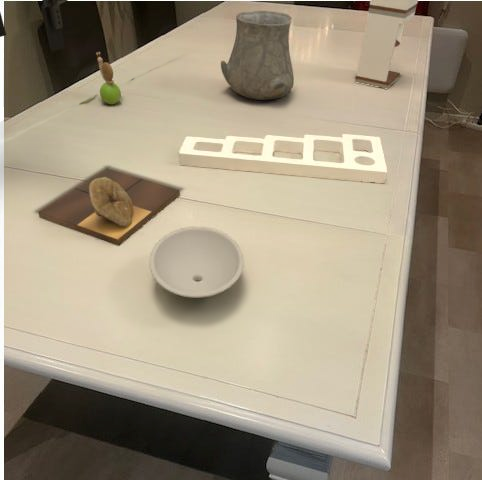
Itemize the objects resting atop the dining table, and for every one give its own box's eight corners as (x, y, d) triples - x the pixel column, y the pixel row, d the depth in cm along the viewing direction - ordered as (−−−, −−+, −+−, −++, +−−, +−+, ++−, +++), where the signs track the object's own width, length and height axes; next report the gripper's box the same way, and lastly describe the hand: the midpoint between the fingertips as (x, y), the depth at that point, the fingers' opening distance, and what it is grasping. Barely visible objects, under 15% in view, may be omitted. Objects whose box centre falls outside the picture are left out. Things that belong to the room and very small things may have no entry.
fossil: (91, 206, 79) (92, 166, 85) (76, 221, 81) (79, 181, 87) (136, 229, 85) (134, 191, 91) (121, 243, 87) (121, 204, 93)
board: (39, 217, 89) (37, 211, 88) (107, 173, 102) (106, 167, 101) (118, 245, 84) (117, 239, 83) (180, 195, 97) (179, 189, 96)
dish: (155, 250, 83) (153, 226, 79) (238, 249, 84) (239, 225, 81) (148, 322, 70) (145, 297, 67) (246, 320, 71) (248, 295, 68)
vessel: (242, 113, 129) (245, 29, 115) (211, 86, 144) (211, 9, 130) (312, 104, 136) (323, 24, 122) (276, 79, 151) (282, 5, 137)
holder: (178, 164, 106) (178, 153, 104) (194, 131, 119) (193, 121, 118) (384, 183, 104) (387, 172, 102) (376, 147, 117) (379, 137, 115)
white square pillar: (387, 89, 148) (421, -52, 124) (354, 82, 151) (381, -57, 127) (398, 79, 155) (431, -56, 131) (366, 73, 159) (393, -60, 135)
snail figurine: (113, 97, 134) (106, 50, 126) (125, 104, 131) (120, 56, 122) (95, 101, 131) (88, 53, 123) (108, 108, 128) (101, 60, 120)
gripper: (74, -113, 69) (98, 49, 84) (-50, -123, 77) (-8, 27, 91) (35, -112, 64) (68, 60, 79) (-93, -123, 72) (-41, 36, 86)
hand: (27, 43), depth 85 cm, fingers open, 13 cm apart
